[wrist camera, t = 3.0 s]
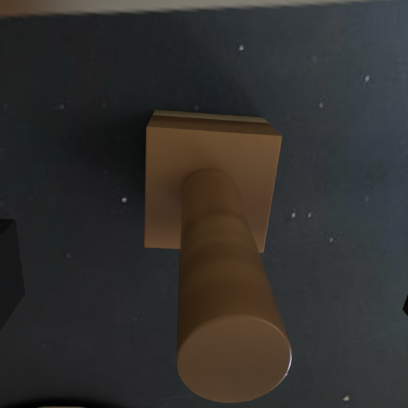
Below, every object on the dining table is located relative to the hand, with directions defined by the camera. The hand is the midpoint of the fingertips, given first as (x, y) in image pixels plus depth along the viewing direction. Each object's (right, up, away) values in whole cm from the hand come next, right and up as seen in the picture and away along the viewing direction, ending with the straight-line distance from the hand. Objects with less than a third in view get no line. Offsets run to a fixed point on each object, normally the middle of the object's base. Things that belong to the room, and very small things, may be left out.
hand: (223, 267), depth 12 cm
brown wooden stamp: (-1, +4, +9) cm, 10 cm away
